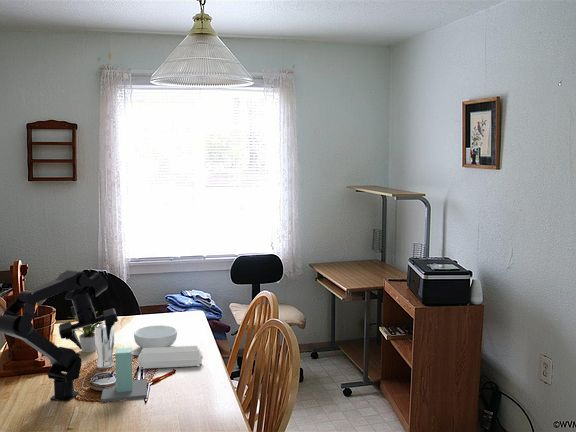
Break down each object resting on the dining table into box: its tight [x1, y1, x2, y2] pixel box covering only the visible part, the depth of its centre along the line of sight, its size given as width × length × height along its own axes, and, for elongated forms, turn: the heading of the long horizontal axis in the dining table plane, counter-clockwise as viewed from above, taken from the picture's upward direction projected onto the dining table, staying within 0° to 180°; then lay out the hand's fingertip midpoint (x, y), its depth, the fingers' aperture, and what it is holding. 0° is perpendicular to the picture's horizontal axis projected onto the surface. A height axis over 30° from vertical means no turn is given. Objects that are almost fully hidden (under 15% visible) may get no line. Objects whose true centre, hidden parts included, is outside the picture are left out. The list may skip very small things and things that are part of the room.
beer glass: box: [94, 323, 115, 369], centre depth 219 cm, size 7×7×15 cm
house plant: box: [65, 311, 104, 353], centre depth 235 cm, size 14×14×16 cm
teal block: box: [114, 347, 134, 392], centre depth 195 cm, size 5×5×13 cm
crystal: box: [136, 345, 204, 369], centre depth 219 cm, size 7×7×24 cm
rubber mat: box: [100, 378, 148, 403], centre depth 195 cm, size 14×14×1 cm
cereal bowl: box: [133, 324, 178, 349], centre depth 239 cm, size 17×17×7 cm
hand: (95, 344), depth 203 cm, fingers open, 9 cm apart
